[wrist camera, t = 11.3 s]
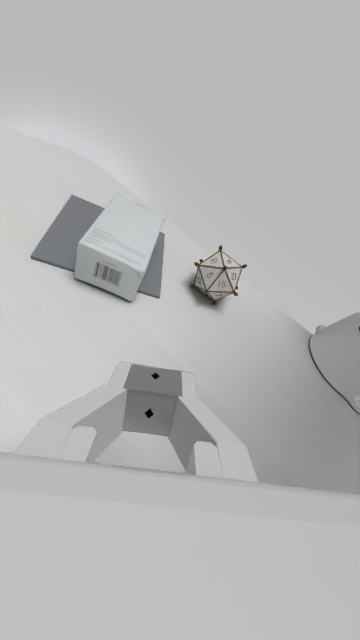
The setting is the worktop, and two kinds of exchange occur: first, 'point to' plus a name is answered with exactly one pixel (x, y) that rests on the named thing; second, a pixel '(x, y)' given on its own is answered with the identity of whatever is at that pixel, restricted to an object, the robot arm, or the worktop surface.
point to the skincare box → (118, 247)
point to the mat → (68, 232)
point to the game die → (218, 276)
